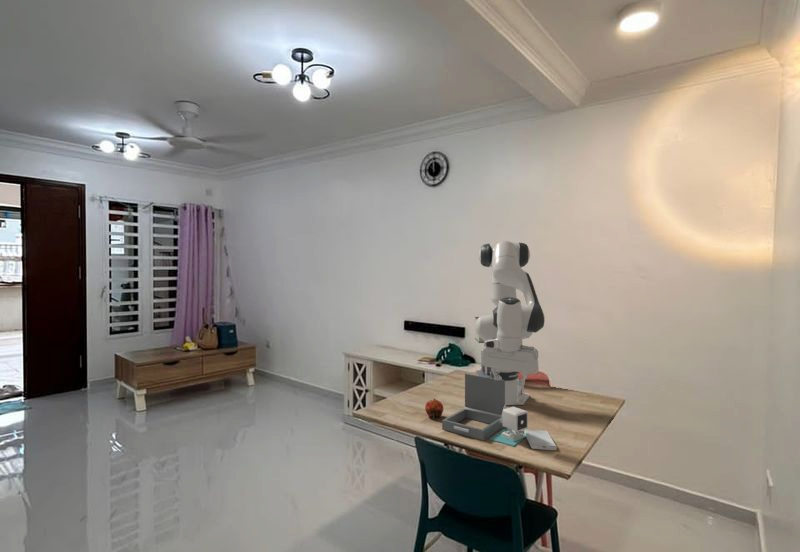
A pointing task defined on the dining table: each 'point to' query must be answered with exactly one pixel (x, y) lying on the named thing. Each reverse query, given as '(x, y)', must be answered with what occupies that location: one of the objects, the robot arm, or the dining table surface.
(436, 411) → the pomegranate
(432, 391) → the dining table surface
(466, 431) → the equipment case
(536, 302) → the robot arm
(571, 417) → the dining table surface
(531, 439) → the hard drive
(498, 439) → the teal mat
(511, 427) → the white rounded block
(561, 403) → the dining table surface
